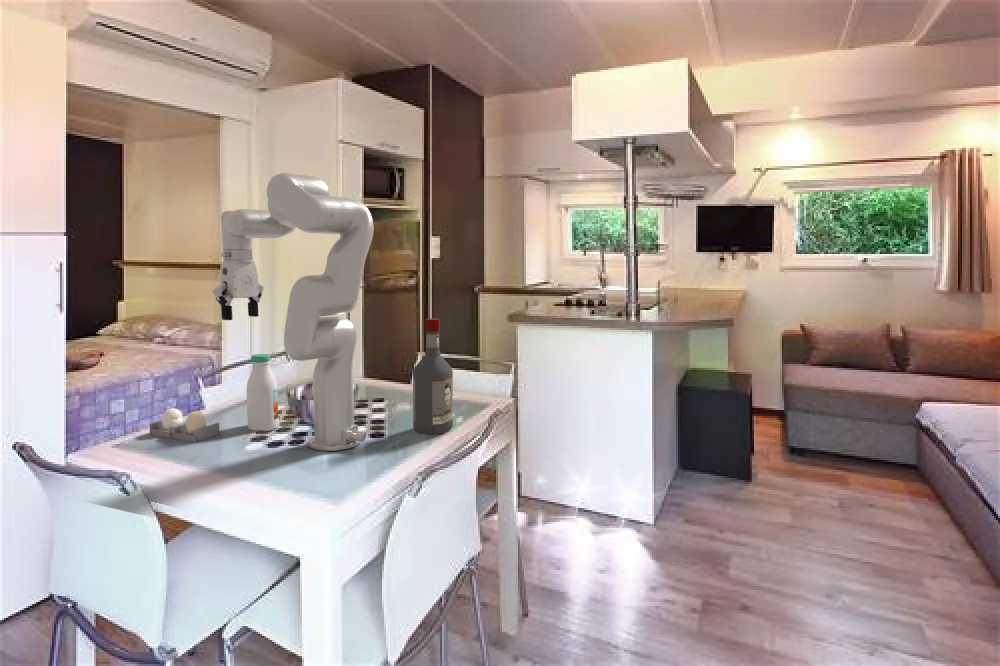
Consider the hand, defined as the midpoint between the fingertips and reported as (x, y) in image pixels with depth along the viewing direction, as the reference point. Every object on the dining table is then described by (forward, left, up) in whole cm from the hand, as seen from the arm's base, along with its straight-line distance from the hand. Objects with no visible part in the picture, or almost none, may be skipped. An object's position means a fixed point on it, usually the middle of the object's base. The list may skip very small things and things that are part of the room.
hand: (240, 318), depth 170 cm
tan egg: (-4, +21, -28) cm, 35 cm away
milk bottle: (-13, +7, -28) cm, 32 cm away
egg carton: (0, +21, -28) cm, 35 cm away
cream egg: (+4, +21, -28) cm, 35 cm away
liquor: (-55, -10, -28) cm, 63 cm away
